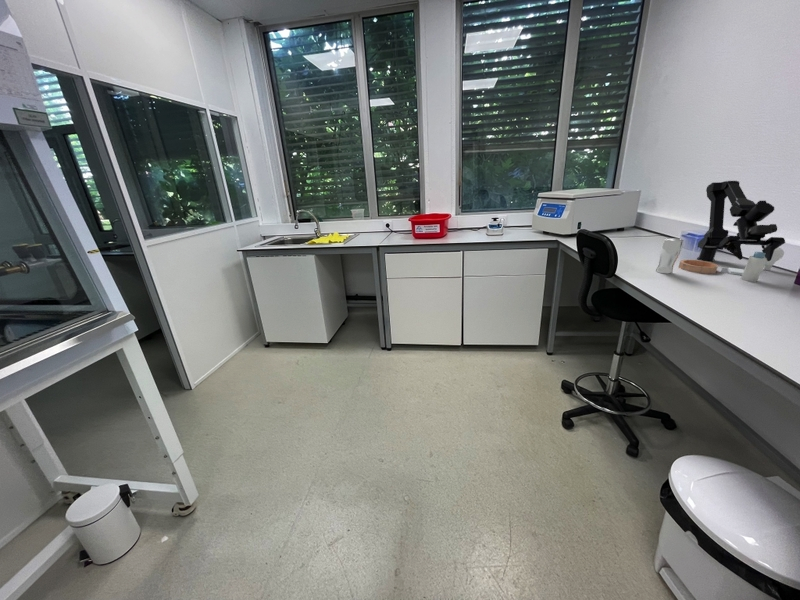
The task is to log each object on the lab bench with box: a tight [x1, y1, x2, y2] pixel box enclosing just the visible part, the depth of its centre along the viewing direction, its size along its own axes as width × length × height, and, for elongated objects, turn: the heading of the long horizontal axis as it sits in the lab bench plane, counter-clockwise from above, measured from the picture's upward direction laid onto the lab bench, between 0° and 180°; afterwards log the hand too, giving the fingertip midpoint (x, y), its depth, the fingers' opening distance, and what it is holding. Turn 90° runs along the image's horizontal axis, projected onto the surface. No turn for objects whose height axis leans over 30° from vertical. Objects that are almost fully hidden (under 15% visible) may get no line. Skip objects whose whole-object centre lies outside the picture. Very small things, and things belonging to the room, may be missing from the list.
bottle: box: [740, 251, 767, 283], centre depth 131 cm, size 5×5×12 cm
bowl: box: [678, 259, 719, 274], centre depth 148 cm, size 13×13×3 cm
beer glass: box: [655, 237, 684, 275], centre depth 143 cm, size 7×7×15 cm
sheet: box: [727, 267, 745, 276], centre depth 142 cm, size 7×5×1 cm
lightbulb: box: [762, 246, 785, 272], centre depth 143 cm, size 6×6×11 cm
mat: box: [720, 267, 742, 277], centre depth 142 cm, size 10×10×1 cm
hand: (755, 259), depth 131 cm, fingers open, 9 cm apart
